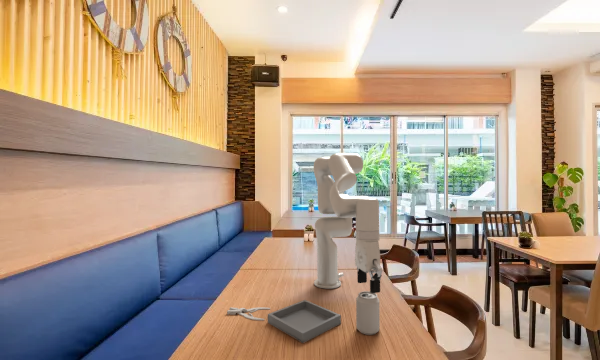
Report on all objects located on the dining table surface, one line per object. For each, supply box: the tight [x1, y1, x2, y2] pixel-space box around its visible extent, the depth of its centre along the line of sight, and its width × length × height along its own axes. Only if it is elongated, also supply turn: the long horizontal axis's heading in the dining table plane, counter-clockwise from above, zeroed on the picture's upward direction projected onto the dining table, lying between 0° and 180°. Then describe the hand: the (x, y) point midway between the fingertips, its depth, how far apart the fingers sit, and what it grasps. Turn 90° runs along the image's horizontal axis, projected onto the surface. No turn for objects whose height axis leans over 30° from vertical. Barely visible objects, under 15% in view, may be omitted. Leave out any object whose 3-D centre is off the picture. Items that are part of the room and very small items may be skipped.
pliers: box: [226, 306, 271, 321], centre depth 114 cm, size 10×2×15 cm
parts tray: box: [267, 299, 342, 344], centre depth 106 cm, size 18×18×3 cm
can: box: [355, 290, 381, 336], centre depth 101 cm, size 8×8×12 cm
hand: (368, 287), depth 100 cm, fingers open, 9 cm apart
